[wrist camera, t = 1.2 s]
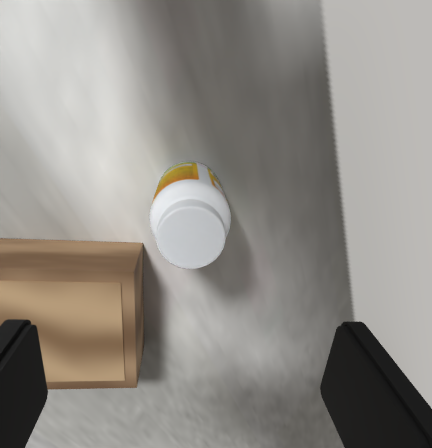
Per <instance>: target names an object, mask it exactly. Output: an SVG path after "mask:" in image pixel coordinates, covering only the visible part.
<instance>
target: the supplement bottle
mask: <svg viewBox="0 0 432 448" xmlns="http://www.w3.org/2000/svg"><path fill="white" fill-rule="evenodd" d="M149 220H150V228H151V232H152V234H153V236H154V238H155V240H156V242H157V246H158V249H159V251H160V253H161V254H162V256H163V257H164V258H165V259H166V260H167V261H168V262H170V263H171V264H173V265H175V266H177V267H180V268H184V269H197V268H201V267H204V266H206V265H208V264H210V263H212V262H213V261H214V260H216V259H217V257H218V256H219V255H220V254H221V252H222V250H223V248H224V245H225V239H226V237H227V235H228V233H229V230H230V225H231V213H230V208H229V205H228V202H227V200H226V197H225V195H224V192H223V190H222V187H221V185H220V182H219V180H218V178H217V176H216V175H215V174H214V172H213V171H212V170H211V169H209V168H208V167H207V166H205V165H203V164H201V163H197V162H181V163H178V164H175V165H173V166H172V167H170V168H169V169H168V170H167V171H166V172H165V173H164V174H163V176H162V177H161V179H160V181H159V184H158V187H157V190H156V193H155V196H154V199H153V202H152V206H151V210H150V218H149Z"/></svg>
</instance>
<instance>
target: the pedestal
mask: <svg viewBox="0 0 432 448" xmlns="http://www.w3.org/2000/svg"><path fill="white" fill-rule="evenodd" d="M8 319H27V320H30V321H31V324H32V325H36V326H37V330H38V336H39V342H40V348H41V354H42V360H43V365H44V371H45V377H46V383H47V389H91V388H137V383H138V377H139V372H140V366H141V360H142V354H143V348H144V314H143V243H128V242H97V241H65V240H34V239H3V238H0V326H1V324H2V323H3V322H4V321H5V320H8Z"/></svg>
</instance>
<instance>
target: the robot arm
mask: <svg viewBox="0 0 432 448" xmlns="http://www.w3.org/2000/svg"><path fill="white" fill-rule="evenodd" d="M320 390H321V395H322V398H323V401H324V403H325V405H326V407H327V409H328V412H329V414H330V416H331V418H332V420H333V423H334V425H335V427H336V429H337V431H338V434H339V436H340V438H341V440H342V442H343V445H344V447H345V448H432V409H431V407H430V406H429V405H428V403H427V402H426V401H425V400H424V399H423V397H422V396H421V395H420V394H419V392H418V391H417V390H416V388H415V387H414V386H413V384H412V383H411V382H410V381H409V380H408V378H407V377H406V376H405V374H404V373H403V372H402V371H401V369H400V368H399V367H398V366H397V364H396V363H395V362H394V360H393V359H392V358H391V357H390V355H389V354H388V353H387V352H386V350H385V349H384V348H383V347H382V345H381V344H380V343H379V341H378V340H377V339H376V338H375V336H374V335H373V334H372V333H371V331H370V330H369V329H368V328H367V326H366V325H365V324H364V323H362V322H343V323H342V325H341V326H338V327H337V329H336V333H335V336H334V340H333V343H332V347H331V350H330V354H329V357H328V361H327V365H326V368H325V372H324V375H323V379H322V382H321V387H320ZM47 394H48V390H47V383H46V377H45V371H44V365H43V360H42V354H41V348H40V342H39V336H38V330H37V326H36V325H32V324H31V321H30V320H27V319H8V320H5V321H4V322H3V323H2V324H1V326H0V448H25V446H26V444H27V442H28V439H29V437H30V435H31V433H32V431H33V429H34V427H35V424H36V422H37V420H38V418H39V416H40V414H41V411H42V409H43V407H44V405H45V402H46V399H47Z"/></svg>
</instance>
